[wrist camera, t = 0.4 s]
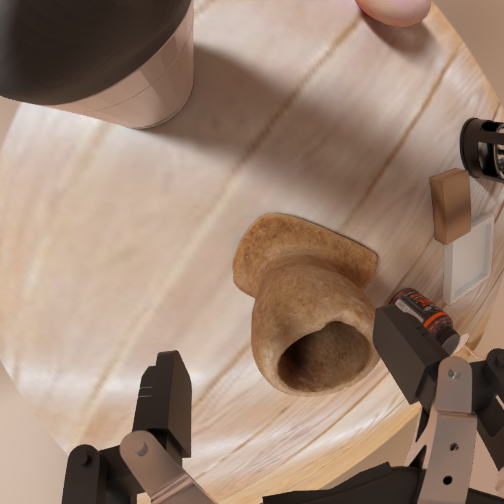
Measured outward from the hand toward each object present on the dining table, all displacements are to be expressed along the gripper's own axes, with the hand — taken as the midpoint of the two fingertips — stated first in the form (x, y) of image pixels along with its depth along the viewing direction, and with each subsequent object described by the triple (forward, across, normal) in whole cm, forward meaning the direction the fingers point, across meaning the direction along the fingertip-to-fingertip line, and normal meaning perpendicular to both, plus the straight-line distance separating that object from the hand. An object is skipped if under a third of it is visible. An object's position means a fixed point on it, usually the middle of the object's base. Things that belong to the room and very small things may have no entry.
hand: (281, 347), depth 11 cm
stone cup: (+20, -5, +8) cm, 22 cm away
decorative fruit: (+22, -19, -22) cm, 37 cm away
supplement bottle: (+20, -21, +18) cm, 34 cm away
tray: (+21, -35, +14) cm, 43 cm away
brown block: (+22, -28, +4) cm, 36 cm away
